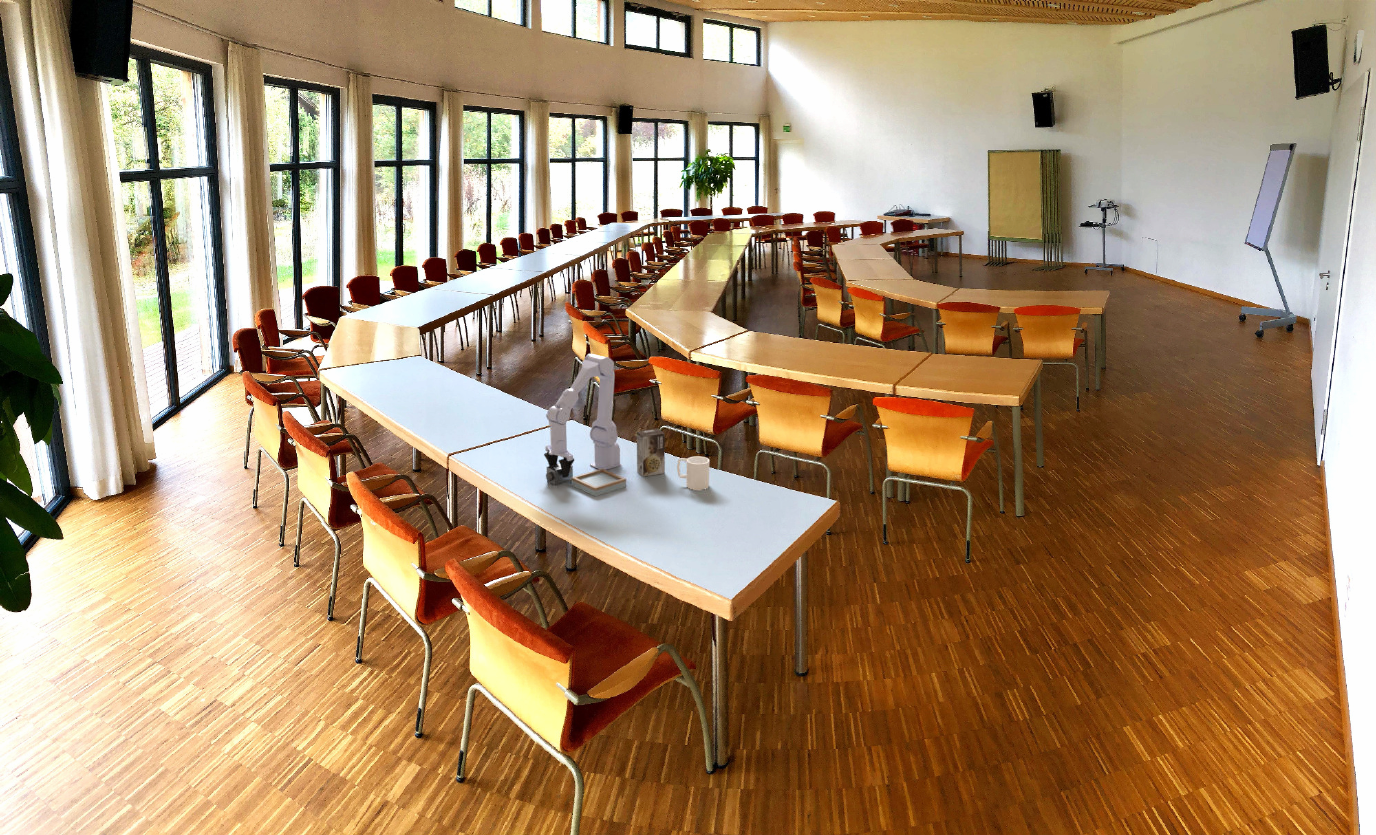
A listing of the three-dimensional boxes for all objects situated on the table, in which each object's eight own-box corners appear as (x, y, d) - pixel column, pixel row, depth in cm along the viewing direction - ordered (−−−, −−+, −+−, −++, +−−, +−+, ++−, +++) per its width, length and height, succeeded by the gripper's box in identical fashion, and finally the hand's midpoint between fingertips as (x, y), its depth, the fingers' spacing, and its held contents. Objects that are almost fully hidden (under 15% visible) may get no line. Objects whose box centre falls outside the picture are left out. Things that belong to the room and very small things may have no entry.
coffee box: (658, 468, 337) (658, 428, 333) (665, 473, 332) (665, 433, 327) (636, 471, 334) (636, 431, 329) (642, 477, 328) (642, 436, 323)
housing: (565, 477, 327) (564, 462, 326) (573, 480, 324) (572, 465, 322) (544, 482, 322) (544, 467, 320) (552, 486, 318) (552, 471, 316)
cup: (680, 479, 326) (680, 454, 323) (711, 483, 323) (712, 457, 320) (673, 487, 319) (673, 461, 316) (705, 491, 315) (706, 465, 312)
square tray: (602, 476, 329) (602, 468, 328) (626, 486, 319) (626, 478, 318) (571, 485, 320) (571, 477, 319) (595, 496, 310) (595, 488, 309)
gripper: (538, 436, 321) (539, 471, 325) (561, 446, 310) (562, 482, 314) (554, 432, 325) (555, 466, 329) (577, 442, 315) (578, 477, 319)
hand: (559, 474), depth 322 cm, fingers open, 7 cm apart
